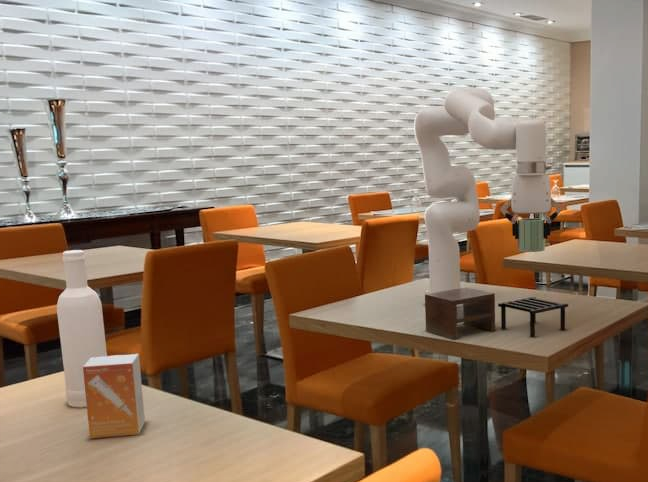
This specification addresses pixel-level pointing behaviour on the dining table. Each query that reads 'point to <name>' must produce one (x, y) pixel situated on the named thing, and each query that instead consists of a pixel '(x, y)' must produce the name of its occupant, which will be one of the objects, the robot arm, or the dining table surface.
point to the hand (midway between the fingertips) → (531, 238)
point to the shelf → (459, 311)
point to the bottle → (79, 326)
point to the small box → (114, 395)
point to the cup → (531, 235)
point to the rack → (532, 310)
